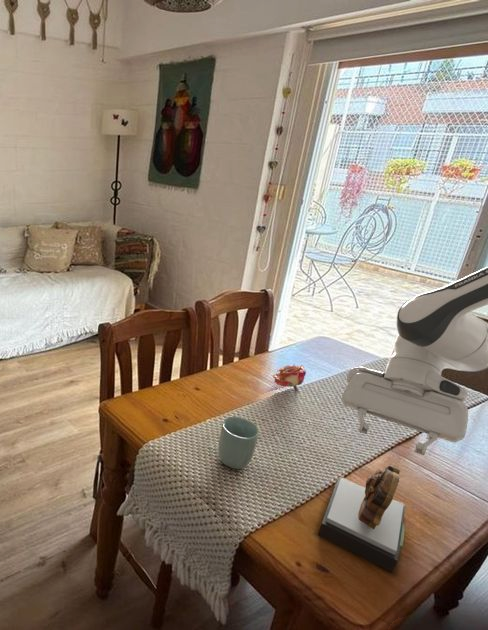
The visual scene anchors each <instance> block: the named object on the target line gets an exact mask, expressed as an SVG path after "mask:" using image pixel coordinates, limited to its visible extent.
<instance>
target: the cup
mask: <svg viewBox="0 0 488 630" xmlns="http://www.w3.org/2000/svg"><path fill="white" fill-rule="evenodd" d="M259 433H260V431H259V428H258V427H257V424H255V423H253V422H252V421H250V420H248V419H245V418H243V417H238V416H237V417H236V416H230V417H227V418H225V419H224V420H223V422H222V424H221V428H220V433H219V439H218V445H217V446H218V447H217V449H218V450H217V451H218V453H217V454H218V457H219V459H220V461H221V462H222V464H223V465H225V466H227V467H229V468H231V469H233V470H241V469H245V468H246V467H247V466H248V465H249V464H250V462H251V461H252V459H253V456H254V453H255V450H256V446H257V442H258V438H259Z"/></svg>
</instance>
